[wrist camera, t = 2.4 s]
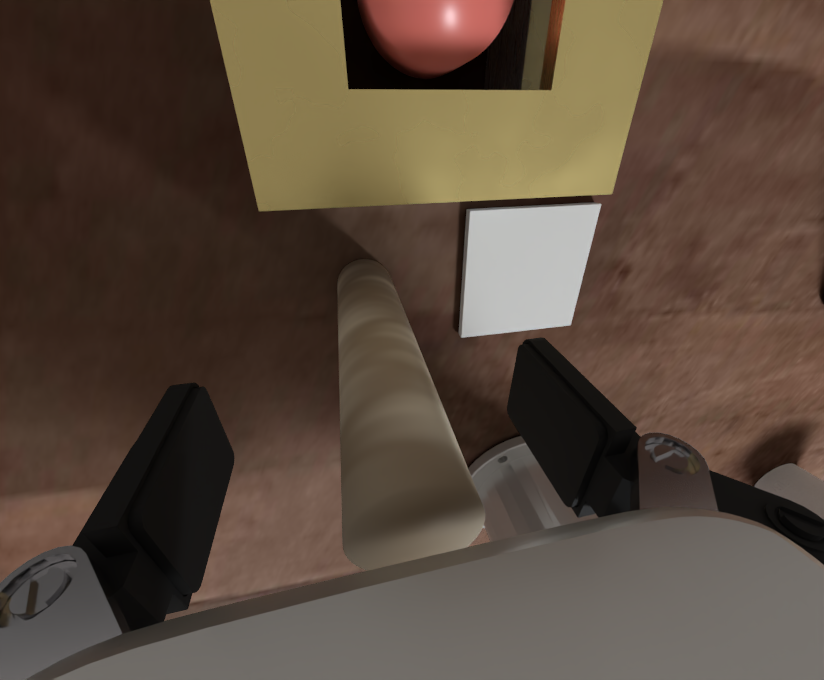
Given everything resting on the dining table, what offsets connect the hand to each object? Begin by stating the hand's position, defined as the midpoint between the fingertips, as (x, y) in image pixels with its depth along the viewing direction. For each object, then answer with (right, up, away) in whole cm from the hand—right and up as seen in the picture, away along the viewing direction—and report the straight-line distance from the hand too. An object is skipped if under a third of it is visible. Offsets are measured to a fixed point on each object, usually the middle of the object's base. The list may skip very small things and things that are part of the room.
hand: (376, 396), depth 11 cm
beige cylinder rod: (-2, +5, +10) cm, 11 cm away
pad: (+8, +6, +11) cm, 15 cm away
